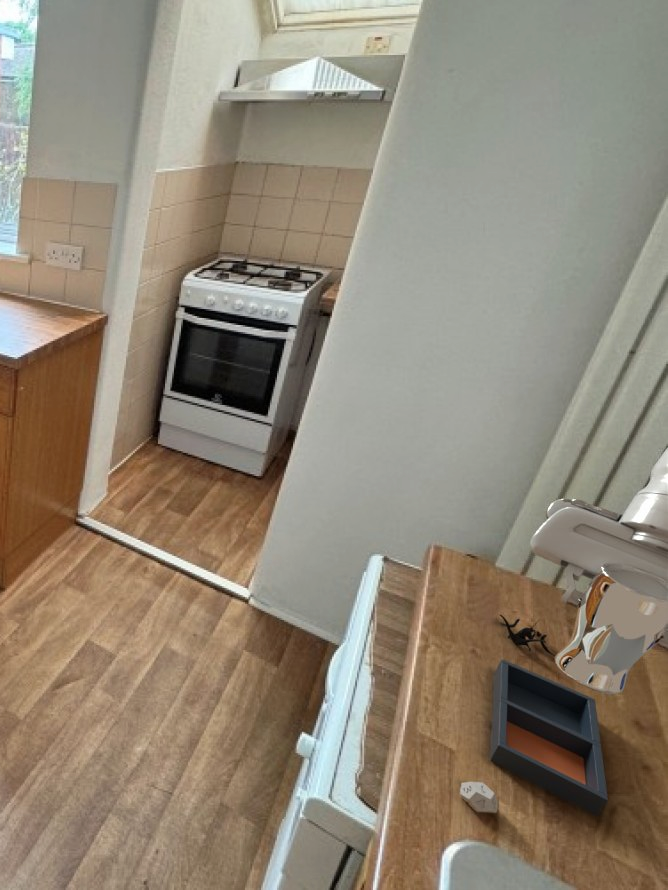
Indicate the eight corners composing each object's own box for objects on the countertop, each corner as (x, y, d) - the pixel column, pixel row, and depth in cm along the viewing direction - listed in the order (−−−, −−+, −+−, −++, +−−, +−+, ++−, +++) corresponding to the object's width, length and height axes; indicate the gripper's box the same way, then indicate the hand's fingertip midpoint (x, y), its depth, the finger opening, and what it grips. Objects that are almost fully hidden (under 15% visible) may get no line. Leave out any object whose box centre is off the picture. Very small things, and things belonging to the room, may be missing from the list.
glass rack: (493, 675, 94) (501, 658, 93) (584, 716, 88) (595, 699, 87) (488, 763, 81) (498, 745, 80) (595, 819, 75) (608, 800, 74)
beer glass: (638, 708, 72) (700, 611, 66) (559, 681, 75) (612, 587, 70) (614, 666, 77) (670, 574, 72) (542, 643, 81) (589, 553, 75)
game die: (492, 802, 77) (501, 787, 75) (493, 827, 74) (502, 811, 73) (456, 784, 79) (464, 769, 78) (456, 807, 76) (465, 791, 75)
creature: (504, 626, 105) (481, 630, 102) (520, 601, 104) (496, 604, 101) (561, 661, 99) (538, 666, 95) (579, 635, 97) (556, 640, 94)
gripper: (560, 483, 80) (505, 566, 79) (821, 576, 64) (756, 682, 63) (557, 501, 84) (505, 580, 83) (803, 593, 68) (742, 694, 67)
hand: (615, 625), depth 73 cm, fingers closed on beer glass, 7 cm apart
